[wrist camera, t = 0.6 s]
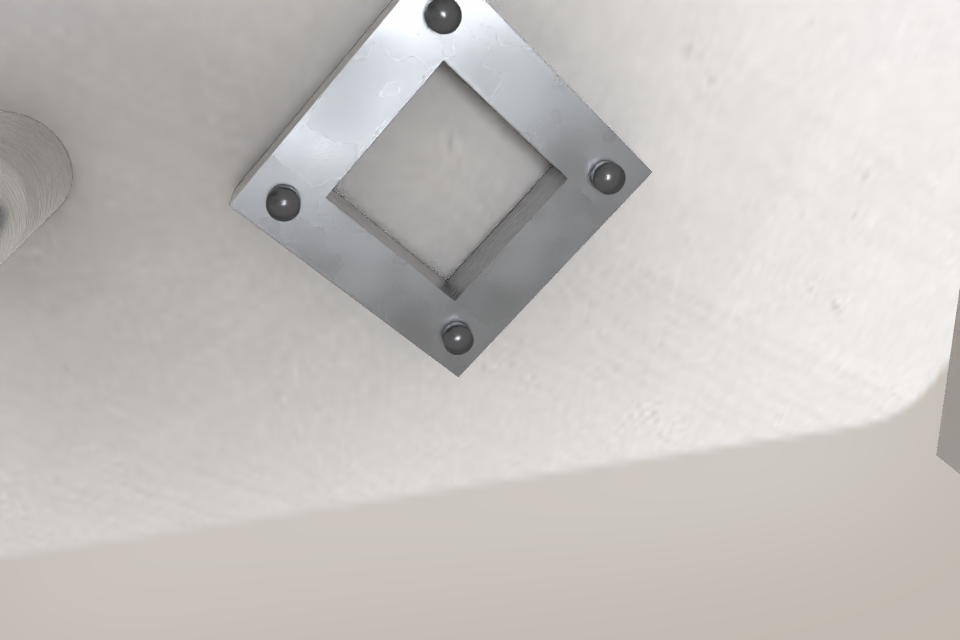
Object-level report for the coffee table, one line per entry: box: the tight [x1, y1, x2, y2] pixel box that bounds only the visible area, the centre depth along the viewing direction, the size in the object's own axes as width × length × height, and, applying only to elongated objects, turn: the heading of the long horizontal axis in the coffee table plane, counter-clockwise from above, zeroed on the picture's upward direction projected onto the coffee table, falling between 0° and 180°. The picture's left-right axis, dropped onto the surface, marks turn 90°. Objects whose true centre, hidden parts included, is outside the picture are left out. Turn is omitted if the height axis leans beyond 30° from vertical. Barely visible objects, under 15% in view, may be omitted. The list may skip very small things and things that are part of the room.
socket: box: [230, 0, 652, 377], centre depth 31 cm, size 11×11×3 cm
